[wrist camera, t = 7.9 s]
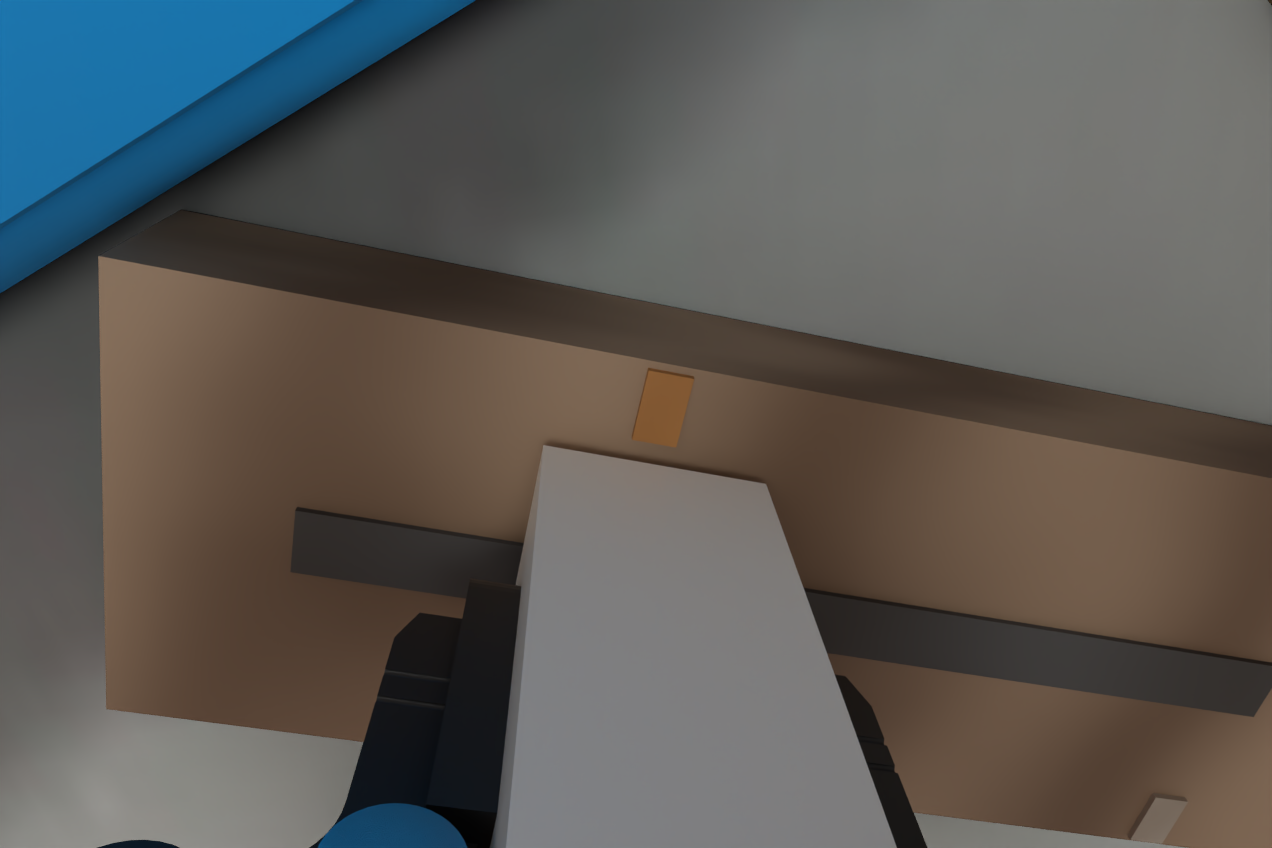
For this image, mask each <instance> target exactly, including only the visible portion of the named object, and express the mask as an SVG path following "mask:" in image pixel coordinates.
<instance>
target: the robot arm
mask: <svg viewBox="0 0 1272 848" xmlns="http://www.w3.org/2000/svg"><path fill="white" fill-rule="evenodd" d="M520 597H521V586H518V585H511V584H505V583H498V582H491V581H485V580H478V579H472V578H470V582H469V587H468V592H467V597H466V602H465V607H464V612H463V617H462V619H460V618H453V617H447V616H440V615H433V614H426V613H419V614H418V615H417V616H416V617H415V618H414V619H413V620H411V621H410V622H409V623H408V624H407V625H406V626H405V627H404V628H403V629H402V630H401V631H400V632H399V633H398V634H397V635H396V636H395V637H394V640H393V643H392V647H391V650H390V654H389V657H388V660H387V664H386V667H385V672H384V675H383V677H382V681H381V684H380V688H379V691H378V695H377V700H376V702H375V705H374V708H373V712H372V715H371V718H370V722H369V725H368V729H367V732H366V735H365V739H364V742H363V746H362V749H361V753H360V756H359V759H358V763H357V766H356V770H355V773H354V776H353V780H352V783H351V787H350V790H349V793H348V797H347V800H346V803H345V806H344V808H343V811H342V813H341V815H340V817H339V818H338V820H337V822H336V823H335V825H334V826H333V827H332V828H331V829H330V830H329V832H328V833H327V834H326V835H325V836H324V837H323V838H321V839H320V840H319V841H318V842H317V843H316V844H314V845H313V846H311V847H310V848H490V844H491V840H492V835H493V830H494V826H495V821H496V817H497V811H498V802H499V792H500V783H501V774H502V764H503V755H504V746H505V736H506V727H507V718H508V709H509V699H510V690H511V681H512V671H513V662H514V653H515V643H516V634H517V625H518V615H519V606H520ZM835 677H836V680H837V683H838V685H839V688H840V691H841V694H842V696H843V699H844V702H845V705H846V708H847V710H848V713H849V716H850V719H851V721H852V724H853V727H854V730H855V733H856V735H857V738H858V741H859V744H860V747H861V749H862V752H863V755H864V758H865V760H866V763H867V766H868V769H869V772H870V774H871V777H872V780H873V783H874V785H875V788H876V791H877V794H878V797H879V799H880V802H881V805H882V808H883V810H884V813H885V816H886V819H887V822H888V824H889V827H890V830H891V833H892V836H893V838H894V841H895V844H896V847H897V848H927V846H926V843H925V841H924V838H923V836H922V833H921V831H920V828H919V825H918V823H917V820H916V818H915V815H914V813H913V810H912V808H911V805H910V803H909V800H908V797H907V795H906V792H905V790H904V787H903V785H902V782H901V780H900V777H899V775H898V773H895V764H894V762H893V759H892V757H891V754H890V752H889V749H888V747H887V745H884V736H883V734H882V731H881V729H880V726H879V724H878V721H877V719H876V716H875V713H874V711H873V708H872V706H871V705H870V704H869V703H868V702H867V700H866V699H865V698H864V697H863V696H862V695H861V693H860V692H859V691H858V690H857V689H856V688H855V686H854V685H853V684H852V683H851V682H850V681H849V680H848V678H847V677H846V676H842V675H836V674H835ZM98 848H179V847H177V846H174V845H172V844H168V843H164V842H160V841H150V840H131V841H123V842H117V843H112V844H109V845H105V846H102V847H98Z"/></svg>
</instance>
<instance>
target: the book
mask: <svg viewBox="0 0 1272 848" xmlns="http://www.w3.org/2000/svg"><path fill="white" fill-rule="evenodd" d="M474 1H476V0H0V293H2V292H3V291H5V290H7V289H8V288H10V287H11V286H13V285H15V284H16V283H18V282H19V281H21V280H23V279H24V278H26V277H28V276H29V275H31V274H32V273H34V272H36V271H37V270H39V269H41V268H42V267H44V266H45V265H47V264H49V263H50V262H52V261H54V260H55V259H57V258H58V257H60V256H62V255H63V254H65V253H67V252H68V251H70V250H71V249H73V248H75V247H76V246H78V245H80V244H81V243H83V242H84V241H86V240H88V239H89V238H91V237H93V236H94V235H96V234H97V233H99V232H101V231H102V230H104V229H106V228H107V227H109V226H110V225H112V224H114V223H115V222H117V221H118V220H120V219H122V218H123V217H125V216H127V215H128V214H130V213H131V212H133V211H135V210H136V209H138V208H140V207H141V206H143V205H144V204H146V203H148V202H149V201H151V200H153V199H154V198H156V197H157V196H159V195H161V194H162V193H164V192H166V191H167V190H169V189H170V188H172V187H174V186H175V185H177V184H179V183H180V182H182V181H183V180H185V179H187V178H188V177H190V176H192V175H193V174H195V173H196V172H198V171H200V170H201V169H203V168H205V167H206V166H208V165H209V164H211V163H213V162H214V161H216V160H217V159H219V158H221V157H222V156H224V155H226V154H227V153H229V152H230V151H232V150H234V149H235V148H237V147H239V146H240V145H242V144H243V143H245V142H247V141H248V140H250V139H252V138H253V137H255V136H256V135H258V134H260V133H261V132H263V131H265V130H266V129H268V128H269V127H271V126H273V125H274V124H276V123H278V122H279V121H281V120H282V119H284V118H286V117H287V116H289V115H291V114H292V113H294V112H295V111H297V110H299V109H300V108H302V107H304V106H305V105H307V104H308V103H310V102H312V101H313V100H315V99H316V98H318V97H320V96H321V95H323V94H325V93H326V92H328V91H329V90H331V89H333V88H334V87H336V86H338V85H339V84H341V83H342V82H344V81H346V80H347V79H349V78H351V77H352V76H354V75H355V74H357V73H359V72H360V71H362V70H364V69H365V68H367V67H368V66H370V65H372V64H373V63H375V62H377V61H378V60H380V59H381V58H383V57H385V56H386V55H388V54H390V53H391V52H393V51H394V50H396V49H398V48H399V47H401V46H402V45H404V44H406V43H407V42H409V41H411V40H412V39H414V38H415V37H417V36H419V35H420V34H422V33H424V32H425V31H427V30H428V29H430V28H432V27H433V26H435V25H437V24H438V23H440V22H441V21H443V20H445V19H446V18H448V17H450V16H451V15H453V14H454V13H456V12H458V11H459V10H461V9H463V8H464V7H466V6H467V5H469V4H471V3H472V2H474Z"/></svg>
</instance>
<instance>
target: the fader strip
mask: <svg viewBox="0 0 1272 848" xmlns="http://www.w3.org/2000/svg"><path fill="white" fill-rule="evenodd" d="M98 266H99V322H100V378H101V435H102V491H103V547H104V603H105V659H106V709H111V710H119V711H126V712H134V713H142V714H150V715H158V716H165V717H173V718H181V719H189V720H197V721H204V722H212V723H220V724H228V725H236V726H243V727H251V728H259V729H267V730H275V731H282V732H290V733H298V734H306V735H314V736H322V737H329V738H337V739H345V740H353V741H361V742H364V739H365V735H366V732H367V729H368V725H369V722H370V718H371V715H372V712H373V708H374V705H375V702H376V700H377V695H378V691H379V688H380V684H381V681H382V677H383V675H384V672H385V667H386V664H387V660H388V657H389V654H390V650H391V647H392V643H393V640H394V637H395V636H396V635H397V634H398V633H399V632H400V631H401V630H402V629H403V628H404V627H405V626H406V625H407V624H408V623H409V622H410V621H411V620H413V619H414V618H415V617H416V616H417V615H418V614H419V613H426V614H433V615H440V616H447V617H453V618H460V619H462V617H463V612H464V607H465V602H466V597H467V592H468V587H469V582H470V578H472V579H478V580H485V581H491V582H498V583H505V584H511V585H516V580H517V575H518V570H519V565H520V560H521V555H522V550H523V545H524V540H525V535H526V530H527V525H528V520H529V515H530V510H531V505H532V500H533V495H534V490H535V485H536V480H537V475H538V470H539V465H540V460H541V455H542V450H543V445H546V446H552V447H557V448H563V449H569V450H575V451H580V452H586V453H592V454H597V455H603V456H609V457H615V458H620V459H626V460H632V461H638V462H643V463H649V464H655V465H661V466H666V467H672V468H678V469H683V470H689V471H695V472H701V473H706V474H712V475H718V476H724V477H729V478H735V479H741V480H747V481H752V482H758V483H764V484H766V485H767V488H768V491H769V493H770V496H771V499H772V502H773V505H774V507H775V510H776V513H777V516H778V518H779V521H780V524H781V527H782V530H783V532H784V535H785V538H786V541H787V543H788V546H789V549H790V552H791V555H792V557H793V560H794V563H795V566H796V569H797V571H798V574H799V577H800V580H801V582H802V585H803V588H804V591H805V594H806V596H807V599H808V602H809V605H810V607H811V610H812V613H813V616H814V619H815V621H816V624H817V627H818V630H819V632H820V635H821V638H822V641H823V644H824V646H825V649H826V652H827V655H828V658H829V660H830V663H831V666H832V669H833V671H834V674H836V675H842V676H846V677H847V678H848V680H849V681H850V682H851V683H852V684H853V685H854V686H855V688H856V689H857V690H858V691H859V692H860V693H861V695H862V696H863V697H864V698H865V699H866V700H867V702H868V703H869V704H870V705H871V706H872V708H873V711H874V713H875V716H876V719H877V721H878V724H879V726H880V729H881V731H882V734H883V736H884V745H887V747H888V749H889V752H890V754H891V757H892V759H893V762H894V764H895V773H898V775H899V777H900V780H901V782H902V785H903V787H904V790H905V792H906V795H907V797H908V800H909V803H910V805H911V808H912V810H913V812H915V813H922V814H930V815H938V816H946V817H954V818H961V819H969V820H977V821H985V822H993V823H1001V824H1008V825H1016V826H1024V827H1032V828H1040V829H1047V830H1055V831H1063V832H1071V833H1079V834H1086V835H1094V836H1102V837H1110V838H1118V839H1125V840H1133V841H1141V842H1149V843H1157V844H1164V845H1172V846H1180V847H1188V848H1272V426H1270V425H1265V424H1260V423H1255V422H1250V421H1245V420H1240V419H1235V418H1230V417H1225V416H1219V415H1214V414H1209V413H1204V412H1199V411H1194V410H1189V409H1184V408H1179V407H1174V406H1169V405H1164V404H1159V403H1154V402H1149V401H1144V400H1139V399H1134V398H1129V397H1124V396H1118V395H1113V394H1108V393H1103V392H1098V391H1093V390H1088V389H1083V388H1078V387H1073V386H1068V385H1063V384H1058V383H1053V382H1048V381H1043V380H1038V379H1033V378H1028V377H1023V376H1017V375H1012V374H1007V373H1002V372H997V371H992V370H987V369H982V368H977V367H972V366H967V365H962V364H957V363H952V362H947V361H942V360H937V359H932V358H927V357H922V356H916V355H911V354H906V353H901V352H896V351H891V350H886V349H881V348H876V347H871V346H866V345H861V344H856V343H851V342H846V341H841V340H836V339H831V338H826V337H821V336H815V335H810V334H805V333H800V332H795V331H790V330H785V329H780V328H775V327H770V326H765V325H760V324H755V323H750V322H745V321H740V320H735V319H730V318H725V317H720V316H714V315H709V314H704V313H699V312H694V311H689V310H684V309H679V308H674V307H669V306H664V305H659V304H654V303H649V302H644V301H639V300H634V299H629V298H624V297H619V296H613V295H608V294H603V293H598V292H593V291H588V290H583V289H578V288H573V287H568V286H563V285H558V284H553V283H548V282H543V281H538V280H533V279H528V278H523V277H518V276H512V275H507V274H502V273H497V272H492V271H487V270H482V269H477V268H472V267H467V266H462V265H457V264H452V263H447V262H442V261H437V260H432V259H427V258H422V257H417V256H411V255H406V254H401V253H396V252H391V251H386V250H381V249H376V248H371V247H366V246H361V245H356V244H351V243H346V242H341V241H336V240H331V239H326V238H321V237H316V236H310V235H305V234H300V233H295V232H290V231H285V230H280V229H275V228H270V227H265V226H260V225H255V224H250V223H245V222H240V221H235V220H230V219H225V218H220V217H215V216H209V215H204V214H199V213H194V212H189V211H184V210H180V211H178V212H176V213H174V214H173V215H171V216H169V217H167V218H165V219H164V220H162V221H160V222H158V223H157V224H155V225H153V226H151V227H149V228H148V229H146V230H144V231H142V232H140V233H139V234H137V235H135V236H133V237H131V238H130V239H128V240H126V241H124V242H122V243H121V244H119V245H117V246H115V247H113V248H112V249H110V250H108V251H106V252H105V253H103V254H101V255H99V256H98Z"/></svg>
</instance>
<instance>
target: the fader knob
mask: <svg viewBox="0 0 1272 848" xmlns="http://www.w3.org/2000/svg"><path fill="white" fill-rule="evenodd" d="M516 585H518V586H521V597H520V606H519V615H518V625H517V634H516V643H515V653H514V662H513V671H512V681H511V690H510V699H509V709H508V718H507V727H506V736H505V746H504V755H503V764H502V774H501V783H500V792H499V802H498V811H497V817H496V821H495V826H494V830H493V835H492V840H491V844H490V848H897V847H896V844H895V841H894V838H893V836H892V833H891V830H890V827H889V824H888V822H887V819H886V816H885V813H884V810H883V808H882V805H881V802H880V799H879V797H878V794H877V791H876V788H875V785H874V783H873V780H872V777H871V774H870V772H869V769H868V766H867V763H866V760H865V758H864V755H863V752H862V749H861V747H860V744H859V741H858V738H857V735H856V733H855V730H854V727H853V724H852V721H851V719H850V716H849V713H848V710H847V708H846V705H845V702H844V699H843V696H842V694H841V691H840V688H839V685H838V683H837V680H836V677H835V674H834V671H833V669H832V666H831V663H830V660H829V658H828V655H827V652H826V649H825V646H824V644H823V641H822V638H821V635H820V632H819V630H818V627H817V624H816V621H815V619H814V616H813V613H812V610H811V607H810V605H809V602H808V599H807V596H806V594H805V591H804V588H803V585H802V582H801V580H800V577H799V574H798V571H797V569H796V566H795V563H794V560H793V557H792V555H791V552H790V549H789V546H788V543H787V541H786V538H785V535H784V532H783V530H782V527H781V524H780V521H779V518H778V516H777V513H776V510H775V507H774V505H773V502H772V499H771V496H770V493H769V491H768V488H767V485H766V484H764V483H758V482H752V481H747V480H741V479H735V478H729V477H724V476H718V475H712V474H706V473H701V472H695V471H689V470H683V469H678V468H672V467H666V466H661V465H655V464H649V463H643V462H638V461H632V460H626V459H620V458H615V457H609V456H603V455H597V454H592V453H586V452H580V451H575V450H569V449H563V448H557V447H552V446H546V445H543V450H542V455H541V460H540V465H539V470H538V475H537V480H536V485H535V490H534V495H533V500H532V505H531V510H530V515H529V520H528V525H527V530H526V535H525V540H524V545H523V550H522V555H521V560H520V565H519V570H518V575H517V580H516Z"/></svg>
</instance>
